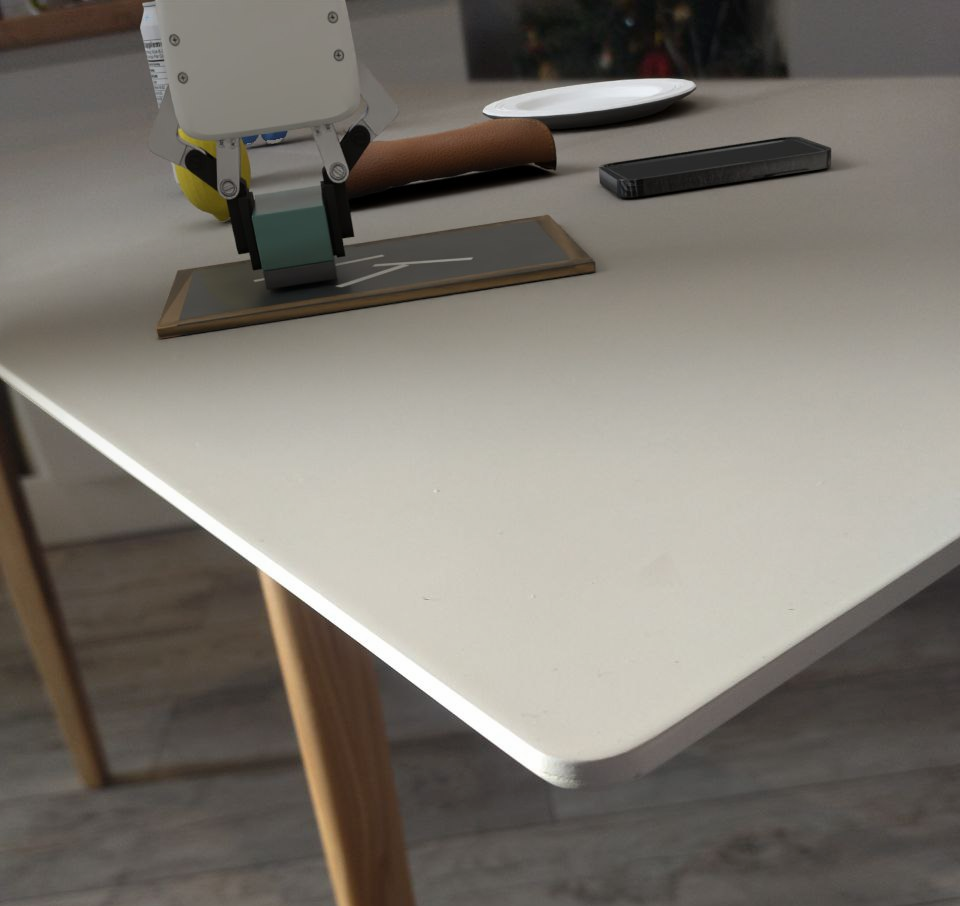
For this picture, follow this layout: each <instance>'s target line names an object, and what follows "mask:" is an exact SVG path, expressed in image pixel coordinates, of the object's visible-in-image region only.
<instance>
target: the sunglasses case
mask: <svg viewBox="0 0 960 906" xmlns="http://www.w3.org/2000/svg"><path fill="white" fill-rule="evenodd" d="M529 164H533V165H535V166H537V167H539V168H541V169H544V170H549V171H550V170H553V171H554V172H555V171H557V166H558V157H557V146H556V142H555V137H554V135H553V133H552V132H551V129H549V128H548V127H547V126H546V125H545V124H544V123H542V122H541V121H539V120H537V119H532V118H503V119H490V120H485V121H480V122H477V123H472V124H470V125H467V126H465V127H461V128H456V129H451V130H446V131H441V132H436V133H430V134H425V135H418V136H412V137H405V138H398V139H393V140H372V141H371V142H370V143H369V145H368V147H367V148H366V150H365V151H364V152H363V154H362V155H361V157H360V158H359V160H358V161H357V163H356V164H355V166H354V167H353V169H352V170H351V172H350V173H349V175H348V178H347V179H346V180H345V183H346V189H347V195H348V201H349V200H352V199H355V198H356V199H357V198H361V197H365V196H369V195H371V194H377V193H383V192H385V191H387V190H389V189H390V188H400V187H403V186H406V185H410V184H412V183H416V182H420V181H424V182H425V181H432V180H439V179H446V178H454V177H458V176H462V175H466V174H469V173H473V172H476V173H477V172H478V173H480V172H481V173H482V172H491V171H496V170H499V169H506V168H511V167H518V166H522V165H523V166H524V165H529Z"/></svg>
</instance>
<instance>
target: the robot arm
mask: <svg viewBox="0 0 960 906" xmlns="http://www.w3.org/2000/svg"><path fill="white" fill-rule="evenodd" d="M154 1H155V4H156V11H157V19H158V25H159V31H160V38H161V43H162V49H163V55H164V61H165V67H166V72H167V77H168V85H167V87H166V90H165V93H164V96H163V99H162V102H161V104H160V107H158V111H157V113H156V116H155V119H154V121H153V125H152V127H151V130H150V133H149V136H148V139H147V142H146V145H147V149H148V150H149V152H150V153H152V154H153V155H156V156H158V157H160V158H162V159H163V160H166V161H168V162H170V163H171V162H172V163H174V164H176V165H178V166H181V167H184V168H186V169H188V170H189V171H190V172H191V173H193V174H194V175H195V176H197V177H198V178H200V179H201V180H202V181H204V182H205V183H206V184H208V185H209V186H210V187H212V188H213V189H215V190H216V191H217V192H219V194H220V195H221V196H222V197H223V198H225V199H226V201H227V206H228V210H229V215H230V218H229V220H230V224H231V229H232V234H233V239H234V243H235V248H236V251H237V254H238V255H245V254H249V260H251V264H252V269H253V270H260V269H262V265H261V260H260V255H259V250H258V246H257V241H256V236H255V231H254V226H253V221H252V213H253V208H254V202H255V195H254V193H253V191H250V188H248V187H247V182H246V180H245V179H243V178H242V177H241V139H240V137H247V136H254V135H259V136H261V134H268V133H274V132H281V131H288V132H289V131H294V130H300V129H308V128H310V130H311V134H312V136H313V139H314V142H315V144H316V147H317V150H318V153H319V155H320V158H321V160H322V163H323V167H322V168H321V176H322V180H320V181H319V182H320V183H319V184H320V185H321V191H322V196H323V200H324V205H325V211H326V217H327V222H328V228H329V234H330V239H331V245H332V251H333V256H336V255H337V258H338V257H345V250H344V245H345V244H344V240H343V239H350V238H355V231H354V225H353V219H352V213H351V207H350V201H349V200H348V195H347V189H346V183H345V180H346V179H347V178H348V175H349V173H350V172H351V170H352V169H353V167H354V166H355V164H356V163H357V161H358V160H359V158H360V157H361V155H362V154H363V152H364V151H365V150H366V148H367V147H368V145H369V143H370V142H371V141H374V140H375V139H376V137H378V136H379V135H380V134H381V133H382V132H383V131H384V130H386V129H387V127H388V126H390V125H391V123H393V121H394V120H395V119H396V118H398V116H399V113H400V107H399V105H398V104H397V102H396V101H395V99H394V98H393V97H392V96H391V95H390V94H389V92H388V91H387V90H386V89H385V88H384V86H383V85H382V83H380V81H379V80H378V79H377V77H375V76H374V74H373V73H372V72H371V71H370V69H369V68H368V67H367V66H366V65H365V64H364V62H363V61H362V60H361V58H359V56H358V55H357V53H356V49H355V48H356V47H355V43H354V38H353V34H352V28H351V20H350V17H349V12H348V7H347V3H346V0H154ZM361 98H362V99H363V100H364V101H365V103H366V110H365V112H364V113H363V114H362V115H361V116H360V117H359V118H358V119H357V120H356V121H355V122H354V123H353V124H351V125H350V127H349V128H348V129H347V131H346V132H345V134H344V136H343V137H342V138H341V140H339V136H338V133H337V131H336V128H335V125H334V124H335V123H338V122H343V121H344V120H346V119H348V118H350V117H351V116H353V115H354V114H355V113H356V112H357V111H358V110H359V108H360V106H361V100H362V99H361ZM179 125H180V128H181V129H182V131H183V132H184V133H185V134H186V135H187V136H189V137H192V138H194V139H198V140H204V141H216V156H217V159H216V158H215V157H214V156H212V155H211V154H210V153H208V152H207V151H205V150H204V149H203V148H201V147H197V146H195V145H193V144H190V143H188V142H187V141H185V140H183V139H182V138H181V137H180V136H179V133H178V127H179ZM172 163H171V164H172Z"/></svg>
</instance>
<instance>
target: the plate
mask: <svg viewBox="0 0 960 906" xmlns="http://www.w3.org/2000/svg"><path fill="white" fill-rule="evenodd" d="M696 90H697V85H696V84H695V82H694V81H692V80H687V79H681V78H666V77H665V78H664V77H663V78H662V77H661V78H636V79H634V78H633V79H620V80H609V81H599V82H590V83H581V84H574V85H567V86H560V87H554V88H547V89H541V90H537V91H531V92H526V93H522V94H518V95H513V96H510V97H506V98H503V99H500V100H496V101H493V102H491V103H490V104H487V105H485V106H484V107H483V110H482V115H483V116H485V117H487V118H489V119H490V120H493V119H503V118H532V119H537V120H539V121H541V122H542V123H544V124H545V125H546V126H547V127H548V128H549V130H567V129H568V130H569V129H579V128H580V129H582V128H589V127H597V126H606V125H611V124H617V123H623V122H629V121H632V120H633V121H634V120H638V119H641V118H645V117H648V116H651V115H652V116H653V115H655V114H657V113H660V112H662V111H664V110H665V109H667V108H668V107H669V106H671V105H672V104H674V103H677V102H679V101H682V99H684V98H686V97H688V96H690V95H691V94H693V92H695V91H696Z"/></svg>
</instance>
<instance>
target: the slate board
mask: <svg viewBox="0 0 960 906" xmlns="http://www.w3.org/2000/svg"><path fill="white" fill-rule="evenodd" d="M344 250H345V257H338V258H337V255H336V256H334V259H335V267H336V274H337V279H333V280H327V281H320V282H314V283H307V284H301V285H294V286H288V287H281V288H275V289H268V290H267V289H266V285H265V280H264V275H263V270H262V269H260V270H253V269H252V264H251V259H246V260H239V261H231V262H225V263H218V264H212V265H205V266H199V267H191V268H186V269H178V270H177V271H176V273H175V275H174V279H173V282H172V284H171V287H170V289H169V292H168V295H167V297H166V299H165V303H164V306H163V308H162V311H161V314H160V316H159V319H158V321H157V323H156V326H155V332H156V336H157V339H158V340H160V339H168V338H174V337H175V338H176V337H180V336H186V335H194V334H199V333H200V334H201V333H206V332H213V331H219V330H220V331H221V330H226V329H233V328H240V327H245V326H252V325H258V324H265V323H271V322H278V321H286V320H291V319H292V320H293V319H297V318H304V317H305V318H306V317H311V316H317V315H318V316H319V315H323V314H330V313H337V312H343V311H350V310H351V311H352V310H357V309H362V308H370V307H376V306H382V305H389V304H395V303H401V302H402V303H403V302H410V301H417V300H422V299H429V298H434V297H435V298H436V297H442V296H449V295H454V294H462V293H468V292H474V291H481V290H486V289H493V288H500V287H507V286H513V285H519V284H526V283H532V282H538V281H544V280H552V279H559V278H565V277H572V276H578V275H584V274H590V273H592V274H593V273H596V270H597V268H596V267H597V266H596V261H595V260H594V259H593V257H591V256H590V255H589V254H588V253H587V252H586V250H585V249H584V248H583V247H581V246H580V245H579V244H578V243H577V242H576V241H575V239H573V237H571V235H570V234H568V233H567V231H565V229H564V228H562V226H560V224H559V223H558V222H556V220H555V219H554V218H553V217H552V216H551V215H550V214H545V215H537V216H531V217H525V218H524V217H523V218H518V219H510V220H505V221H504V220H503V221H498V222H490V223H484V224H478V225H471V226H464V227H457V228H451V229H445V230H438V231H431V232H423V233H417V234H412V235H404V236H397V237H392V238H391V237H390V238H385V239H377V240H371V241H364V242H357V243H351V244H344Z"/></svg>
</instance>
